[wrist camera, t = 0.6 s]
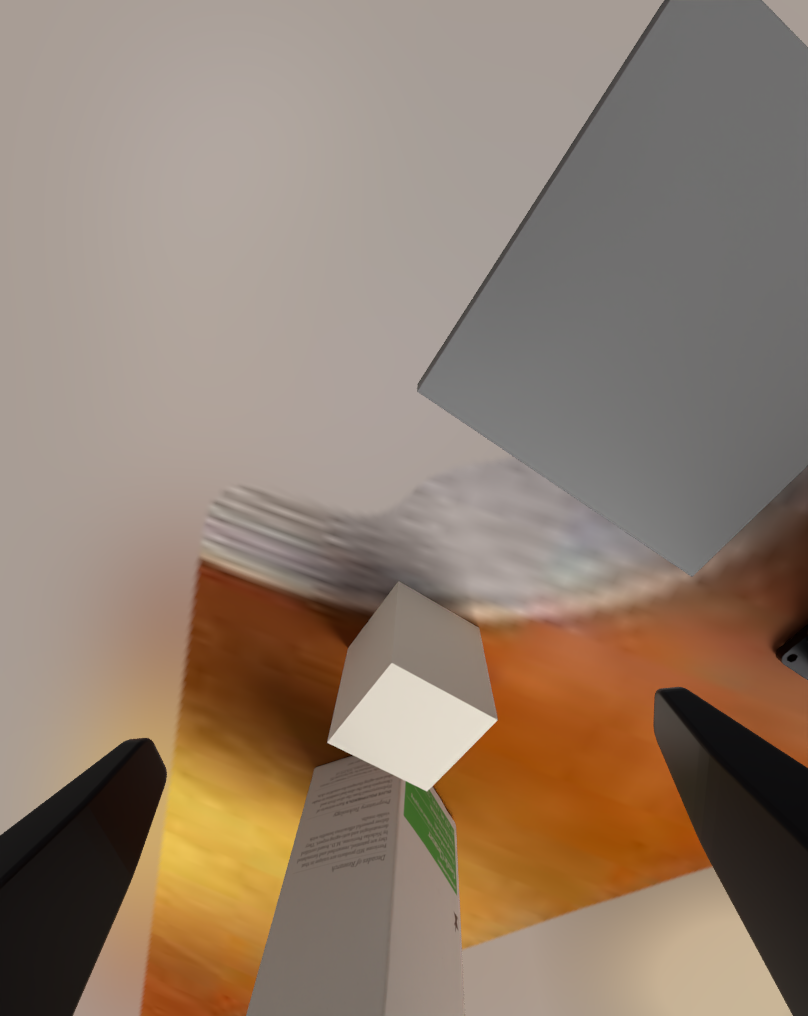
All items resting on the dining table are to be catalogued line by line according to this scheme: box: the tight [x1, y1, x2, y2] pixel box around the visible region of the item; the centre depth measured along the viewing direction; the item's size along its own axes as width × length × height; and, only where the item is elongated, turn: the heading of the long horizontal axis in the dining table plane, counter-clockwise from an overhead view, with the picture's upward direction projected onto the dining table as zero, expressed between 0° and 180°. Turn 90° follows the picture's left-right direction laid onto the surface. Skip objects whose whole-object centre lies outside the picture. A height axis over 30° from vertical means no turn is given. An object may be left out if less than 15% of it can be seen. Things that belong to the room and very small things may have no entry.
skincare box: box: [246, 756, 465, 1016], centre depth 21 cm, size 8×7×16 cm
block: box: [327, 581, 498, 791], centre depth 21 cm, size 5×5×6 cm
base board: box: [417, 0, 808, 577], centre depth 17 cm, size 14×14×2 cm
